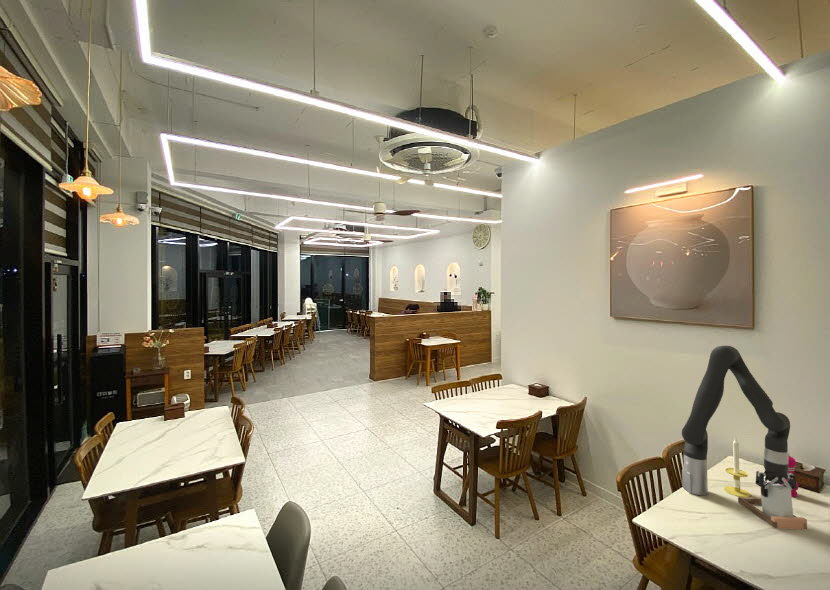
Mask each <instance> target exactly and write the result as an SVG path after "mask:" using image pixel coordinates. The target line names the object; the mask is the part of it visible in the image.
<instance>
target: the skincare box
mask: <svg viewBox="0 0 830 590" xmlns="http://www.w3.org/2000/svg"><path fill="white" fill-rule="evenodd" d="M767 482H770V481H768V480H767ZM766 484H767V483H766ZM766 484H765V485H766ZM759 488H760V489H761V487H760V486H759ZM760 498H761V500H762V505H761V511H762V512H763V513H765V514H766V515H768V516H769V517H771V516H777V517H793V515H794V508H793V499H792V498H793V497H791V489H790V488H788V487H785V486H782V485H780V484H773V485H772V486H769V487H768V497H764V496H763V495H762V494H761V493H760Z"/></svg>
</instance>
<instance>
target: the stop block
mask: <svg viewBox="0 0 830 590" xmlns="http://www.w3.org/2000/svg"><path fill="white" fill-rule="evenodd" d="M771 520H772V521H773V522H774V523H776V522H777V525H778V528H776V527H775V526H776V525H775V526H774V527H775V528H774V527H773V528H774V529H789V530H790V529H791V530H807V529H808V519H807V518H805V517H803V516H802V517H799V516H798V517H797V516H796V517H777V516H771ZM805 523H807V524H806V525H805ZM806 526H807V527H806ZM804 528H805V529H804Z"/></svg>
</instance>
